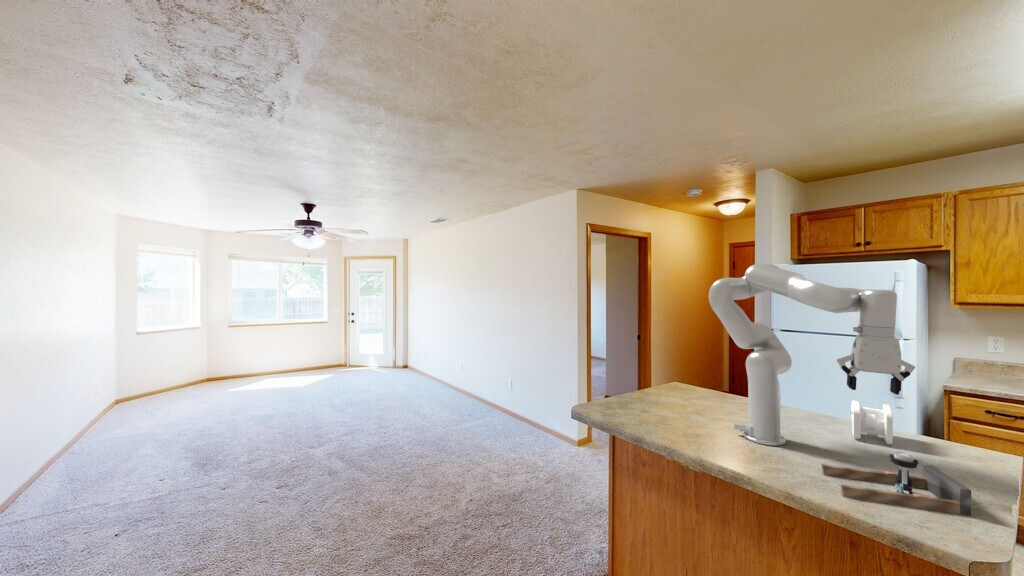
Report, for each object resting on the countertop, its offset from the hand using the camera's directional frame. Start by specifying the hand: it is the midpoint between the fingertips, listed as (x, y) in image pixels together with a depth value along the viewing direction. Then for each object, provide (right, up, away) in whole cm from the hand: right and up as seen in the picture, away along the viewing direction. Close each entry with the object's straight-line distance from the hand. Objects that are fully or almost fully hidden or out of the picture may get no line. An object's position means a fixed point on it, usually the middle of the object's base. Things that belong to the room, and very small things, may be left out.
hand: (872, 391), depth 112 cm
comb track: (-5, -24, -10) cm, 27 cm away
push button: (-2, -24, -11) cm, 27 cm away
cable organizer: (+23, -24, +26) cm, 42 cm away
